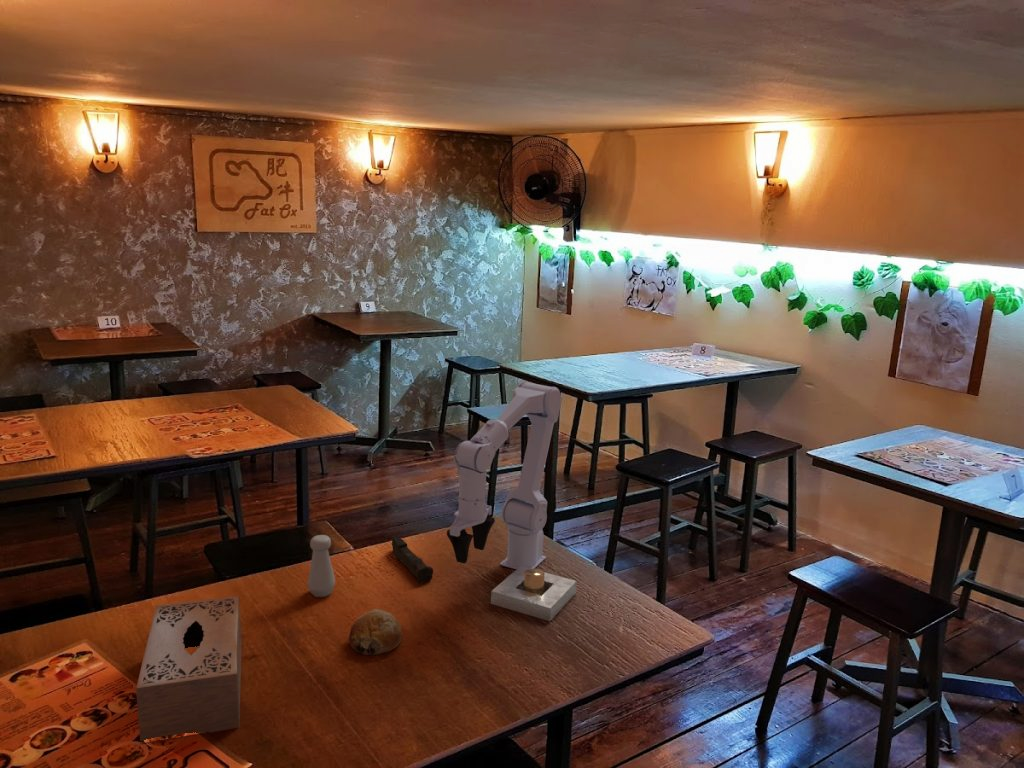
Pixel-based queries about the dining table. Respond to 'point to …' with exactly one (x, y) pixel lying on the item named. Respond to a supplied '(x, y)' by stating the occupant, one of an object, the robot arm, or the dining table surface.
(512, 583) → the square stone frame
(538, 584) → the cylinder
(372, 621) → the bread roll
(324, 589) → the salt shaker
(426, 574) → the hand tool
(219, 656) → the tissue box cover
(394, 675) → the dining table surface
